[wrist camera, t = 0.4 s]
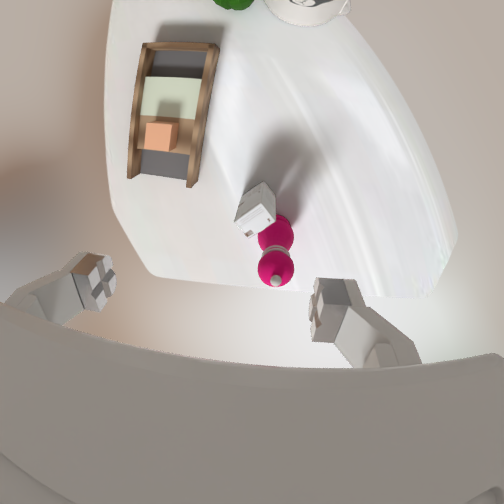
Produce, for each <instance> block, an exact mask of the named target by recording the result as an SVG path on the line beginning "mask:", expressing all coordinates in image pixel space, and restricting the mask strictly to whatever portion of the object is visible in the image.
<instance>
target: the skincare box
mask: <svg viewBox="0 0 504 504" xmlns="http://www.w3.org/2000/svg"><path fill="white" fill-rule="evenodd" d="M275 221H276V196H275V194H274V193H273V192H272V190H271V189H270V188H269V187H268V185H267V184H266V183H265V182H262V183H260V184H258V185H257V186H255V187H254V188H252V189H251V190H249V191H248V192H247V193H245V194H244V195H243V196H242V197H241V200H240V203H239V206H238V210H237V213H236V217H235V220H234V223H235V224H236V225H237V226H238V227H239V229H240V230H241V231H242V232H243V233H244V234H245V236H246V237H247V238H248V239H249V238H250V237H252V236H254V235H255V234H257V233H259V232H261V231H263V230H264V229H265V228H266V227H268V226H269V225H271V224H272V223H274V222H275Z"/></svg>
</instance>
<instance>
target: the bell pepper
mask: <svg viewBox="0 0 504 504" xmlns="http://www.w3.org/2000/svg"><path fill="white" fill-rule="evenodd" d="M213 1H214V2H215V3H216V4H217V5H219V6H221V7H223V8H225V9H227V10H228V9H231V8H232V9H234V10H244V9H246V8H248V7H249V6H250V5H251V4H252V2H253V1H254V0H213Z"/></svg>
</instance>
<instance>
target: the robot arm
mask: <svg viewBox="0 0 504 504" xmlns="http://www.w3.org/2000/svg"><path fill="white" fill-rule="evenodd" d="M264 1H265V3H266V5H267V6H268V8H269V9H270V11H271V12H272V13H273V14H274V15H276V16H277V17H278V18H280V19H281V20H283V21H285V22H288V23H290V24H293V25H298V26H307V27H309V26H318V25H322V24H324V23H327V22H328V21H330V20H331V19H333V18H334V17H336V16H341V15H346V14H348V13H349V12H350V11H351V5H350V0H264ZM112 266H113V262H112V258H111V257H110V256H108V255H103V254H96V253H89V252H79V253H78V254H77V255H76V256H75V257H74V258H73V259H71V260H70V261H69V263H68V264H67V265H66V266H65V267H63V269H62V270H61V271H55V272H53V273H51V274H49V275H46V276H44V277H42V278H40V279H37V280H35V281H33V282H31V283H29V284H26V285H24V286H22V287H20V288H18V289H17V290H16V291H15V292H14V293H13V294H12V295H11V296H10V297H9V298H8V299H7V301H6V302H5V303H2V302H0V504H504V358H503V357H501V356H499V355H498V354H495V353H490V354H484V355H480V356H475V357H469V358H463V359H457V360H450V361H443V362H436V363H427V364H422V362H421V359H420V357H419V354H418V352H417V350H416V347H415V345H414V342H413V341H412V340H410V339H409V338H408V337H407V336H406V335H404V334H403V333H402V332H401V331H399V330H398V329H397V328H396V327H394V326H393V325H392V324H391V323H389V322H388V321H387V320H386V319H384V318H383V317H382V316H381V315H379V314H378V313H377V312H375V311H374V310H373V309H371V308H370V307H366V305H365V302H364V300H363V297H362V295H361V292H360V290H359V287H358V285H357V282H356V280H354V279H332V278H317V277H316V279H315V282H314V286H313V287H314V294H313V295H312V296H311V299H310V303H309V320H310V321H311V322H312V324H311V328H310V330H311V337H312V341H314V342H328V343H334V345H335V346H336V347H337V348H338V350H339V351H340V352H341V353H342V354H343V356H344V357H345V358H346V359H347V361H348V362H349V363H350V364H351V365H352V367H353V368H294V367H277V366H263V365H252V364H242V363H234V362H225V361H217V360H210V359H204V358H197V357H190V356H184V355H178V354H173V353H168V352H162V351H157V350H152V349H148V348H143V347H138V346H134V345H130V344H125V343H121V342H117V341H113V340H109V339H105V338H102V337H98V336H94V335H91V334H88V333H84V332H81V331H78V330H74V329H71V328H68V327H65V326H62V325H64V324H65V323H67V322H68V321H69V320H71V319H72V318H74V317H75V316H76V315H78V314H79V313H81V312H82V311H84V309H86V310H90V311H95V312H101V310H102V309H103V307H104V306H105V305H106V303H107V297H110V296H111V295H112V294H113V293H114V291H115V288H116V283H117V282H116V275H115V273H114V272H113V270H112V269H111V268H112Z"/></svg>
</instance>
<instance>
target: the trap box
mask: <svg viewBox="0 0 504 504" xmlns="http://www.w3.org/2000/svg"><path fill="white" fill-rule="evenodd" d="M219 52H220V48H219V47H218V46H217V45H216V44H212V43H194V42H154V43H143V45H142V49H141V54H140V59H139V65H138V70H137V76H136V82H135V89H134V96H133V104H132V112H131V122H130V133H129V146H128V164H127V178H128V179H132V178H133V177H135V176H137V175H138V174H140V173H142V174H149V175H157V176H163V177H170V178H177V179H183V180H187V183H186V187H187V188H192V186H193V185H194V184H195V183H196V182H197V181H198V174H199V166H200V159H201V152H202V145H203V138H204V132H205V126H206V120H207V114H208V108H209V102H210V97H211V91H212V86H213V81H214V76H215V71H216V66H217V61H218V57H219ZM152 121H163V122H174V123H179V128H178V135H177V143H176V148H175V149H173V150H171V151H169V152H168V151H159V150H150V149H144V144H145V133H146V124H147V123H148V122H152Z"/></svg>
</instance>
